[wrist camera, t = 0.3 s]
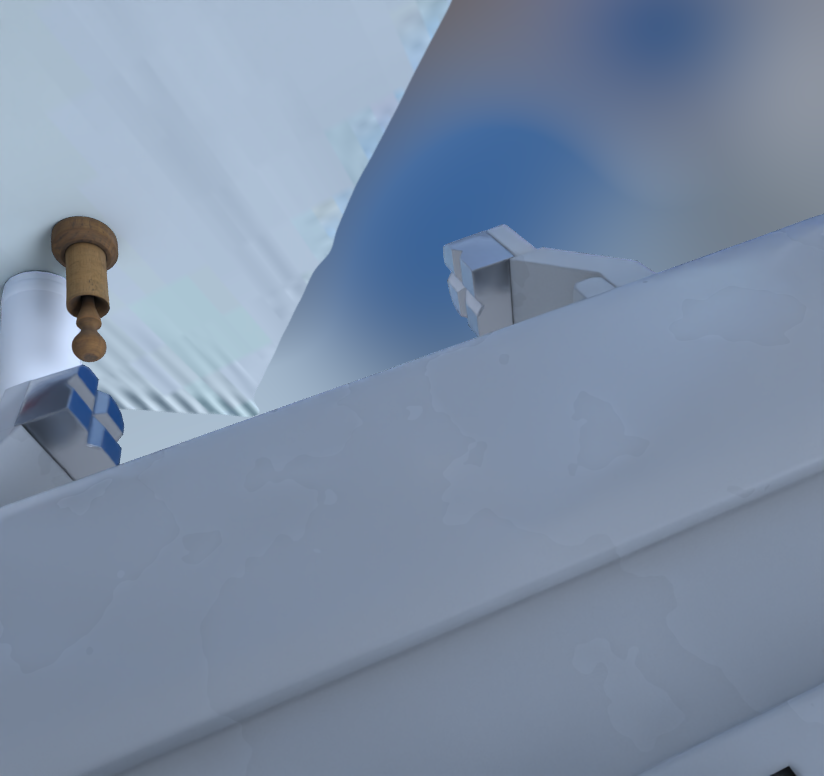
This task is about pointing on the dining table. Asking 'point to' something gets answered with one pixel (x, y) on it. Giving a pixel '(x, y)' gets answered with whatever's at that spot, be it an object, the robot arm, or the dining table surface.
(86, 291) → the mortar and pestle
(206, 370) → the dining table surface
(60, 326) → the bottle
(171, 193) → the dining table surface
